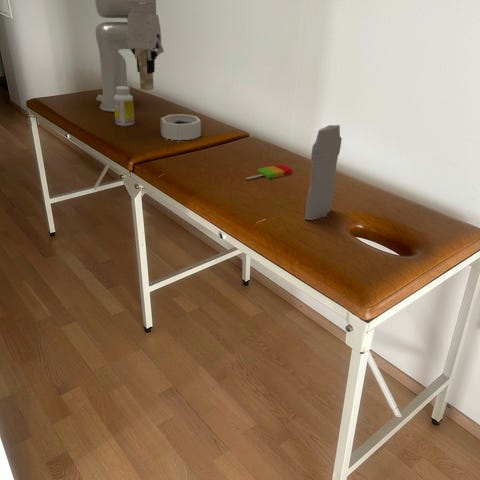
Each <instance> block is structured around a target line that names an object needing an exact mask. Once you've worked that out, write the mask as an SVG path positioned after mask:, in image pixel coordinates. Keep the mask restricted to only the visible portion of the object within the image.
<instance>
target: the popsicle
mask: <svg viewBox="0 0 480 480" xmlns="http://www.w3.org/2000/svg"><path fill="white" fill-rule="evenodd" d="M292 170H293V169H292V167H289V166H287V165H285V164H282V163H281V164H280V163H279V164H276V165H271V166H265V167H262V168H258V169H257V170H256V174H257V173H259V174H260V175H259V174H257V175H256V174H255V175H251V176H247V177H245V180H246V181H247V180H252V179H256V178H262V177H261V176H265V177H267V178H268V179H269V178H273V179H275V178H274V177H278V176H282V177H284V176H283V175H286V176H288V175H287V174H290V175H292V174H291V173H293V171H292ZM278 178H279V177H278ZM268 179H267V180H268ZM269 180H270V179H269Z"/></svg>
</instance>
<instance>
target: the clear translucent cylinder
mask: <svg viewBox="0 0 480 480" xmlns="http://www.w3.org/2000/svg"><path fill="white" fill-rule="evenodd" d="M151 53H152V52H151ZM138 60H139V70H140V71H139V72H138V73H139V85H140V90H142V91H152V90H153V89H155V88H154V87H155V86H154V85H155V84H154V73H150V74H148V73H147V60H148V54H147V50H142V49H138Z"/></svg>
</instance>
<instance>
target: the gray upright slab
mask: <svg viewBox="0 0 480 480" xmlns="http://www.w3.org/2000/svg"><path fill="white" fill-rule="evenodd" d="M340 129H341V127H340V124H335V125H334V124H332V125H331V124H330V125H327V126H325V127H323V128H320V129H318V132H317V136H316V139H315V142H314V143H313V145H312V149H311V156H310V157H311V159H310V161H311V162H312V163H311V173H310V180H309V188H308V191H307V197H306V205H305V206H306V207H305V215H304V220H305V219H308V220H310V219H314V218H318V217H325V216H326V215H328V214H329V213H328V212H330V211H332V205H333V197H334V192H335V177H336V169H337V164H338V157H339V155H340V152H341V148H342V140H343V138H342V137H341V130H340ZM327 213H328V214H327ZM330 213H331V212H330ZM326 217H327V216H326ZM326 217H325V218H326ZM318 219H319V218H318Z"/></svg>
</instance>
